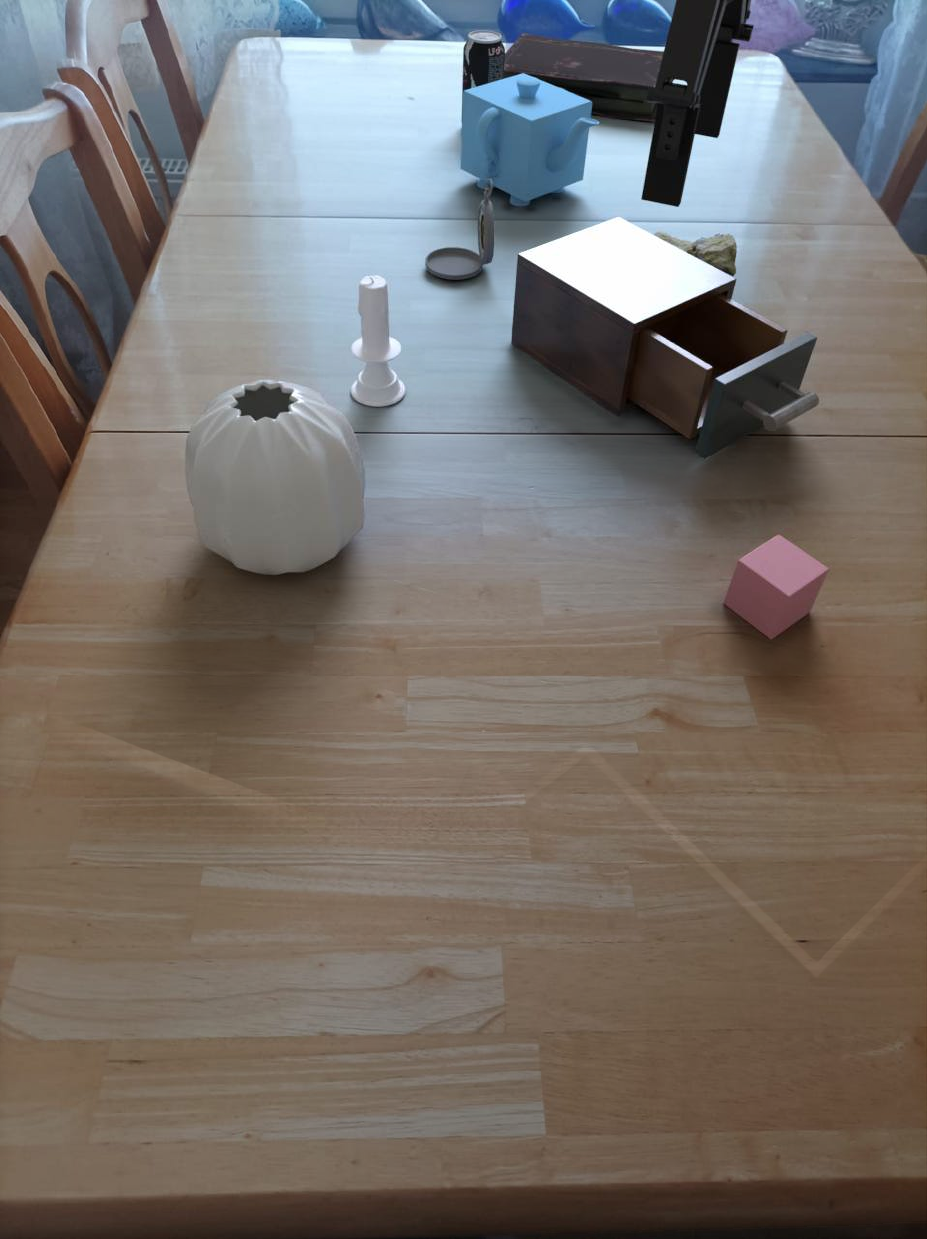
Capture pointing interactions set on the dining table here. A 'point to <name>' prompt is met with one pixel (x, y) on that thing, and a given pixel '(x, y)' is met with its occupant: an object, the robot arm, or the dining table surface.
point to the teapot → (524, 136)
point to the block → (775, 586)
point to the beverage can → (482, 59)
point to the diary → (591, 72)
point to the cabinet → (603, 302)
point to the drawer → (720, 373)
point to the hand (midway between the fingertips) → (682, 165)
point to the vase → (274, 478)
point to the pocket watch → (465, 261)
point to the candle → (376, 347)
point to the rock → (709, 250)
